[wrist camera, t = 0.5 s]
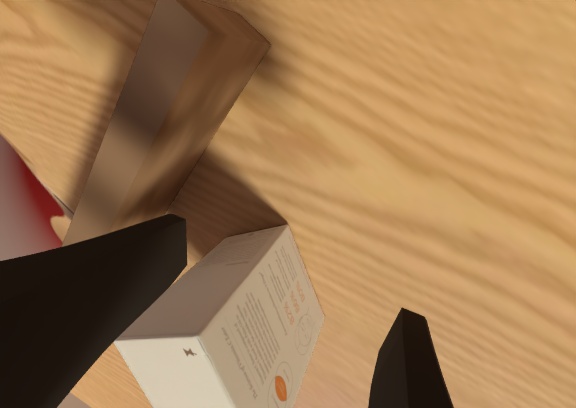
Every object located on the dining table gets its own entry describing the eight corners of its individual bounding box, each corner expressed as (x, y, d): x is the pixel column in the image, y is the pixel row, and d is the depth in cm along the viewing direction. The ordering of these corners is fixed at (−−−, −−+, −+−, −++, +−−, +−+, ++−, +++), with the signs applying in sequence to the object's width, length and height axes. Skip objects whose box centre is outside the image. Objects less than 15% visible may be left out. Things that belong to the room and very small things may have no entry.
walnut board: (128, 270, 29) (67, 312, 24) (109, 252, 29) (44, 290, 24) (271, 44, 17) (208, 31, 12) (238, 13, 17) (161, -13, 12)
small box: (225, 235, 23) (105, 336, 14) (290, 221, 21) (194, 333, 12) (264, 322, 25) (179, 459, 16) (327, 318, 23) (269, 479, 14)
